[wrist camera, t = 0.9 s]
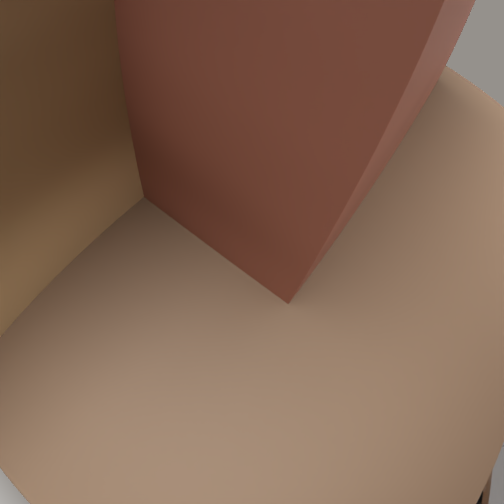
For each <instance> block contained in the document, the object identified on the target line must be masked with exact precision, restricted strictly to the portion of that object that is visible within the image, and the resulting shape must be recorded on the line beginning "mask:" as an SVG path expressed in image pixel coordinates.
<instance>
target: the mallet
mask: <svg viewBox="0 0 504 504" xmlns="http://www.w3.org/2000/svg"><path fill="white" fill-rule="evenodd" d="M474 2H475V0H0V337H1V335H2V334H3V333H4V332H5V331H6V330H7V328H8V327H9V326H10V325H11V324H12V323H13V322H14V321H15V319H16V318H17V317H18V316H19V315H20V314H21V313H22V312H23V311H24V309H25V308H26V307H27V306H28V305H29V304H30V303H31V302H32V301H33V300H34V299H35V298H36V297H37V296H38V295H39V293H40V292H41V291H42V290H43V289H44V288H45V287H46V286H47V285H48V284H49V283H50V282H51V281H52V280H53V279H54V278H55V277H56V276H57V275H58V274H59V273H60V272H61V271H62V270H63V269H64V268H65V267H66V266H67V265H68V264H69V263H70V262H71V261H72V260H73V259H74V258H76V257H77V256H78V255H79V254H80V253H81V252H82V251H83V250H84V249H85V248H86V247H87V246H88V245H89V244H90V243H92V242H93V241H94V240H95V239H96V238H97V237H98V236H99V235H100V234H101V233H103V232H104V231H105V230H106V229H107V228H108V227H109V226H110V225H111V224H113V223H114V222H115V221H116V220H117V219H118V218H120V217H121V216H122V215H123V214H124V213H125V212H126V211H128V210H129V209H130V208H131V207H132V206H134V205H135V204H136V203H137V202H138V201H140V200H141V199H142V198H143V197H145V198H146V199H148V200H149V201H150V202H151V203H153V204H154V205H155V206H157V207H158V208H159V209H161V210H162V211H163V212H165V213H166V214H167V215H169V216H170V217H171V218H173V219H174V220H175V221H177V222H178V223H179V224H180V225H182V226H183V227H184V228H186V229H187V230H188V231H190V232H191V233H192V234H194V235H195V236H196V237H198V238H199V239H200V240H202V241H203V242H204V243H206V244H207V245H208V246H210V247H211V248H213V249H214V250H215V251H217V252H218V253H219V254H221V255H222V256H223V257H225V258H226V259H227V260H229V261H230V262H231V263H233V264H234V265H235V266H237V267H238V268H239V269H241V270H242V271H244V272H245V273H246V274H248V275H249V276H250V277H252V278H253V279H254V280H256V281H257V282H259V283H260V284H261V285H263V286H264V287H265V288H267V289H268V290H270V291H271V292H272V293H274V294H275V295H276V296H278V297H279V298H281V299H282V300H283V301H285V302H286V303H287V304H289V303H290V301H291V300H292V299H293V297H294V296H295V295H296V293H297V292H298V291H299V289H300V288H301V287H302V285H303V284H304V283H305V281H306V280H307V279H308V277H309V276H310V275H311V273H312V272H313V270H314V269H315V268H316V266H317V265H318V264H319V262H320V261H321V259H322V258H323V257H324V255H325V254H326V253H327V251H328V250H329V248H330V247H331V246H332V244H333V243H334V241H335V240H336V238H337V237H338V236H339V234H340V233H341V231H342V230H343V228H344V227H345V226H346V224H347V223H348V221H349V220H350V218H351V217H352V215H353V214H354V213H355V211H356V210H357V208H358V207H359V205H360V204H361V202H362V201H363V199H364V198H365V196H366V195H367V193H368V192H369V190H370V189H371V187H372V186H373V184H374V183H375V181H376V180H377V178H378V177H379V175H380V174H381V172H382V171H383V169H384V168H385V166H386V165H387V163H388V161H389V160H390V158H391V157H392V155H393V154H394V152H395V150H396V149H397V147H398V146H399V144H400V143H401V141H402V139H403V138H404V136H405V135H406V133H407V131H408V130H409V128H410V126H411V125H412V123H413V122H414V120H415V118H416V117H417V115H418V113H419V112H420V110H421V108H422V107H423V105H424V103H425V102H426V100H427V98H428V97H429V95H430V93H431V91H432V90H433V88H434V86H435V85H436V83H437V81H438V79H439V77H440V75H441V73H442V71H443V69H444V67H445V65H446V63H447V61H448V59H449V57H450V55H451V53H452V51H453V49H454V47H455V45H456V43H457V40H458V38H459V36H460V34H461V32H462V30H463V27H464V25H465V23H466V21H467V18H468V16H469V14H470V12H471V9H472V7H473V5H474Z"/></svg>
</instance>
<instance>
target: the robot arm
mask: <svg viewBox="0 0 504 504" xmlns="http://www.w3.org/2000/svg"><path fill="white" fill-rule="evenodd" d="M476 504H504V442H503V445H502V448H501V450H500V453H499V455H498V458H497V460H496V463H495V465H494V467H493V470H492V472H491V474H490V476H489V479H488V481H487V483H486V485H485V487H484V489H483V491H482V493H481V495H480V497H479V499H478V501H477V503H476Z"/></svg>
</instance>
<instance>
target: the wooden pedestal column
mask: <svg viewBox="0 0 504 504" xmlns="http://www.w3.org/2000/svg"><path fill="white" fill-rule="evenodd" d="M503 442H504V107H503V106H501V105H500V104H499V103H497V102H496V101H495V100H494V99H493V98H491V97H490V96H488V95H487V94H486V93H485V92H483V91H482V90H481V89H479V88H478V87H477V86H475V85H473V84H472V83H471V82H470V81H468V80H467V79H465V78H464V77H462V76H461V75H459V74H458V73H456V72H455V71H453V70H452V69H450V68H448V67H447V66H446V65H445V67H444V69H443V71H442V73H441V75H440V77H439V79H438V81H437V83H436V85H435V86H434V88H433V90H432V91H431V93H430V95H429V97H428V98H427V100H426V102H425V103H424V105H423V107H422V108H421V110H420V112H419V113H418V115H417V117H416V118H415V120H414V122H413V123H412V125H411V126H410V128H409V130H408V131H407V133H406V135H405V136H404V138H403V139H402V141H401V143H400V144H399V146H398V147H397V149H396V150H395V152H394V154H393V155H392V157H391V158H390V160H389V161H388V163H387V165H386V166H385V168H384V169H383V171H382V172H381V174H380V175H379V177H378V178H377V180H376V181H375V183H374V184H373V186H372V187H371V189H370V190H369V192H368V193H367V195H366V196H365V198H364V199H363V201H362V202H361V204H360V205H359V207H358V208H357V210H356V211H355V213H354V214H353V215H352V217H351V218H350V220H349V221H348V223H347V224H346V226H345V227H344V228H343V230H342V231H341V233H340V234H339V236H338V237H337V238H336V240H335V241H334V243H333V244H332V246H331V247H330V248H329V250H328V251H327V253H326V254H325V255H324V257H323V258H322V259H321V261H320V262H319V264H318V265H317V266H316V268H315V269H314V270H313V272H312V273H311V275H310V276H309V277H308V279H307V280H306V281H305V283H304V284H303V285H302V287H301V288H300V289H299V291H298V292H297V293H296V295H295V296H294V297H293V299H292V300H291V301H290V303H289V304H287V303H286V302H285V301H283V300H282V299H281V298H279V297H278V296H276V295H275V294H274V293H272V292H271V291H270V290H268V289H267V288H265V287H264V286H263V285H261V284H260V283H259V282H257V281H256V280H254V279H253V278H252V277H250V276H249V275H248V274H246V273H245V272H244V271H242V270H241V269H239V268H238V267H237V266H235V265H234V264H233V263H231V262H230V261H229V260H227V259H226V258H225V257H223V256H222V255H221V254H219V253H218V252H217V251H215V250H214V249H213V248H211V247H210V246H208V245H207V244H206V243H204V242H203V241H202V240H200V239H199V238H198V237H196V236H195V235H194V234H192V233H191V232H190V231H188V230H187V229H186V228H184V227H183V226H182V225H180V224H179V223H178V222H177V221H175V220H174V219H173V218H171V217H170V216H169V215H167V214H166V213H165V212H163V211H162V210H161V209H159V208H158V207H157V206H155V205H154V204H153V203H151V202H150V201H149V200H148V199H146V198H145V197H143V198H142V199H141V200H140V201H138V202H137V203H136V204H135V205H134V206H132V207H131V208H130V209H129V210H128V211H126V212H125V213H124V214H123V215H122V216H121V217H120V218H118V219H117V220H116V221H115V222H114V223H113V224H111V225H110V226H109V227H108V228H107V229H106V230H105V231H104V232H103V233H101V234H100V235H99V236H98V237H97V238H96V239H95V240H94V241H93V242H92V243H90V244H89V245H88V246H87V247H86V248H85V249H84V250H83V251H82V252H81V253H80V254H79V255H78V256H77V257H76V258H74V259H73V260H72V261H71V262H70V263H69V264H68V265H67V266H66V267H65V268H64V269H63V270H62V271H61V272H60V273H59V274H58V275H57V276H56V277H55V278H54V279H53V280H52V281H51V282H50V283H49V284H48V285H47V286H46V287H45V288H44V289H43V290H42V291H41V292H40V293H39V295H38V296H37V297H36V298H35V299H34V300H33V301H32V302H31V303H30V304H29V305H28V306H27V307H26V308H25V309H24V311H23V312H22V313H21V314H20V315H19V316H18V317H17V318H16V319H15V321H14V322H13V323H12V324H11V325H10V326H9V327H8V328H7V330H6V331H5V332H4V333H3V334H2V335H1V337H0V468H1V469H2V470H3V472H4V473H5V474H6V476H7V477H8V478H9V479H10V481H11V482H12V483H13V484H14V485H15V487H16V488H17V489H18V490H19V491H20V493H21V494H22V495H23V496H24V497H25V498H26V499H27V501H28V502H29V503H30V504H476V503H477V501H478V499H479V497H480V495H481V493H482V491H483V489H484V487H485V485H486V483H487V481H488V479H489V476H490V474H491V472H492V470H493V467H494V465H495V463H496V460H497V458H498V455H499V453H500V450H501V448H502V445H503Z"/></svg>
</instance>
